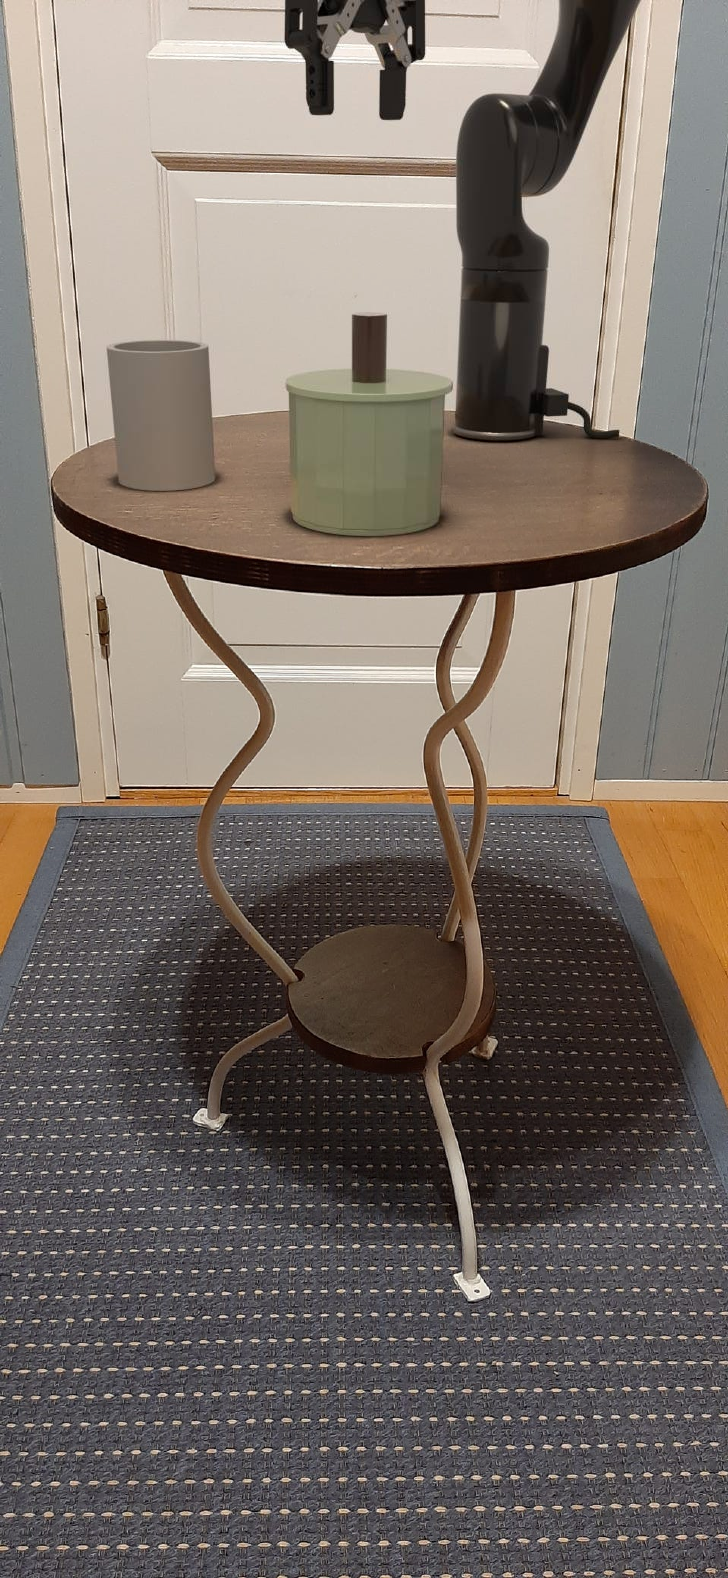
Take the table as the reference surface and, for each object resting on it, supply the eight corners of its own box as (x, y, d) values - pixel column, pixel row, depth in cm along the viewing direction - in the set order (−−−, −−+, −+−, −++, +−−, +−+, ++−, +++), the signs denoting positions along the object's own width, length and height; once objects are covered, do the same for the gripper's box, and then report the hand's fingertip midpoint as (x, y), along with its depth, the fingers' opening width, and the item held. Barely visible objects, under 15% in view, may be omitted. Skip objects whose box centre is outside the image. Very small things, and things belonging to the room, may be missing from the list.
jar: (411, 494, 105) (414, 374, 100) (461, 530, 95) (468, 397, 90) (277, 503, 102) (274, 379, 97) (314, 541, 91) (312, 404, 87)
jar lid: (419, 380, 101) (421, 304, 98) (477, 406, 90) (482, 320, 87) (268, 386, 98) (266, 307, 95) (309, 413, 86) (308, 325, 83)
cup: (121, 492, 105) (108, 353, 99) (116, 471, 113) (104, 341, 107) (220, 488, 107) (213, 351, 101) (209, 467, 115) (202, 339, 109)
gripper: (328, -152, 82) (330, 112, 89) (454, -117, 91) (446, 120, 99) (257, -136, 86) (264, 115, 94) (384, -104, 95) (381, 122, 103)
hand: (357, 117), depth 96 cm, fingers open, 8 cm apart
